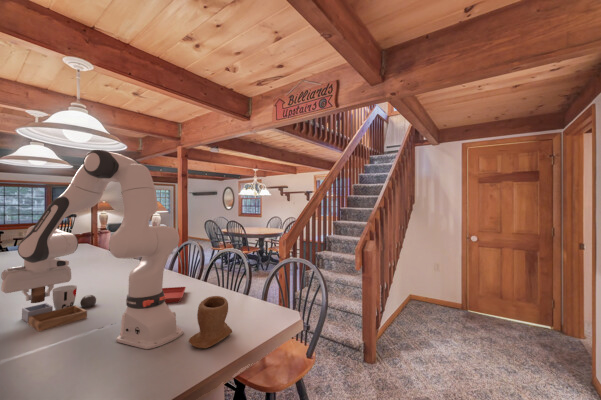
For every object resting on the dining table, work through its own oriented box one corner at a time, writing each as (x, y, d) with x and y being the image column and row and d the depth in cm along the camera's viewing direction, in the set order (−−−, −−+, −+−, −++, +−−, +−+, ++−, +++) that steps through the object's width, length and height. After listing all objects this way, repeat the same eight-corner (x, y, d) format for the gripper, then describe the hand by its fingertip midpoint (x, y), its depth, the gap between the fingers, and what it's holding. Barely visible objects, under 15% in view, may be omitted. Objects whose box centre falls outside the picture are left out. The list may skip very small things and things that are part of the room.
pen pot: (52, 318, 108) (52, 306, 108) (27, 325, 102) (28, 312, 102) (45, 314, 112) (46, 302, 112) (21, 320, 106) (22, 308, 106)
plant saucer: (185, 292, 145) (186, 286, 145) (182, 303, 128) (182, 296, 128) (148, 295, 139) (148, 288, 140) (139, 307, 122) (140, 300, 122)
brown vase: (208, 355, 83) (209, 307, 83) (183, 345, 89) (184, 300, 89) (241, 335, 96) (242, 294, 97) (217, 328, 102) (218, 289, 102)
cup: (61, 315, 112) (62, 291, 112) (46, 313, 113) (47, 289, 114) (80, 308, 120) (81, 285, 120) (66, 306, 121) (67, 284, 122)
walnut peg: (46, 300, 108) (46, 286, 108) (32, 303, 104) (33, 288, 105) (42, 299, 110) (43, 284, 110) (29, 301, 106) (29, 286, 107)
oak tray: (86, 319, 108) (87, 310, 108) (38, 333, 95) (39, 323, 96) (74, 313, 114) (75, 305, 114) (28, 326, 101) (28, 316, 101)
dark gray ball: (98, 307, 121) (98, 294, 121) (83, 311, 116) (83, 298, 116) (92, 304, 124) (93, 292, 124) (77, 308, 119) (78, 295, 119)
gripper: (4, 269, 97) (2, 308, 97) (73, 260, 115) (72, 292, 114) (-1, 267, 100) (-3, 304, 100) (67, 259, 118) (66, 290, 117)
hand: (38, 298), depth 107 cm, fingers closed on walnut peg, 4 cm apart
